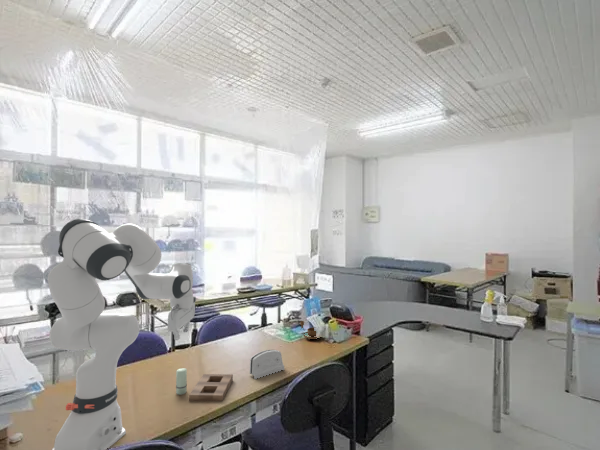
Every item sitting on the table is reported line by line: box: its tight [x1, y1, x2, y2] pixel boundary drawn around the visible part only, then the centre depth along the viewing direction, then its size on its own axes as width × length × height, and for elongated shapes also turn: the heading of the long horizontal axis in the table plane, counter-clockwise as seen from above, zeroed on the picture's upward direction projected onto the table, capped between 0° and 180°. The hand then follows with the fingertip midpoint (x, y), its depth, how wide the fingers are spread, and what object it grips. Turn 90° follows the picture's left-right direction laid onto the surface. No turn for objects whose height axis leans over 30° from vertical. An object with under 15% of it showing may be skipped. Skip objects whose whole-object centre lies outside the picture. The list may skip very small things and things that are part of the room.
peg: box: [175, 367, 188, 396], centre depth 137 cm, size 4×4×9 cm
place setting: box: [299, 320, 317, 340], centre depth 210 cm, size 18×20×6 cm
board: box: [188, 373, 234, 402], centre depth 139 cm, size 18×13×2 cm
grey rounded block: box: [248, 349, 285, 380], centre depth 156 cm, size 17×5×10 cm, turn 127°
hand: (181, 335), depth 137 cm, fingers open, 8 cm apart
